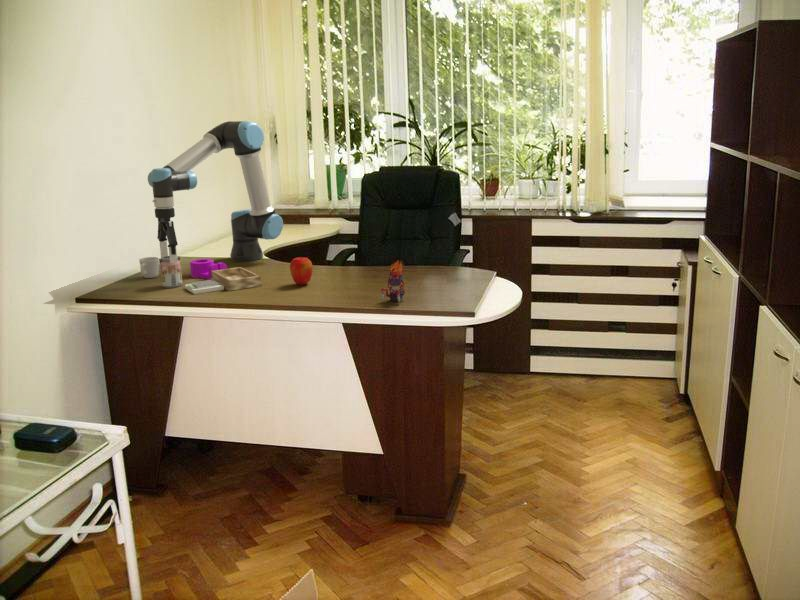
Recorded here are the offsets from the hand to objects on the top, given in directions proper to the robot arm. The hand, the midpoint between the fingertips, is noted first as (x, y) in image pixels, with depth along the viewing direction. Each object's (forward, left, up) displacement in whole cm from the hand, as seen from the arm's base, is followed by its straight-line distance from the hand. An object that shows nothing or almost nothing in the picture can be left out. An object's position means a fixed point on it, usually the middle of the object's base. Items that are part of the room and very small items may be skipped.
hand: (169, 259), depth 319 cm
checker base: (-9, +14, -11) cm, 20 cm away
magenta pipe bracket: (-18, -9, -11) cm, 23 cm away
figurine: (-60, +76, -11) cm, 98 cm away
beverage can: (0, 0, -11) cm, 11 cm away
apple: (-44, +31, -11) cm, 55 cm away
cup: (+4, -21, -11) cm, 24 cm away
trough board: (-23, +12, -11) cm, 28 cm away
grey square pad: (-9, +14, -9) cm, 19 cm away
